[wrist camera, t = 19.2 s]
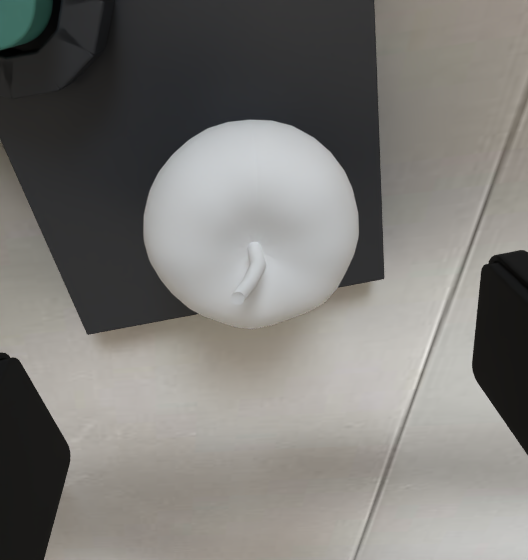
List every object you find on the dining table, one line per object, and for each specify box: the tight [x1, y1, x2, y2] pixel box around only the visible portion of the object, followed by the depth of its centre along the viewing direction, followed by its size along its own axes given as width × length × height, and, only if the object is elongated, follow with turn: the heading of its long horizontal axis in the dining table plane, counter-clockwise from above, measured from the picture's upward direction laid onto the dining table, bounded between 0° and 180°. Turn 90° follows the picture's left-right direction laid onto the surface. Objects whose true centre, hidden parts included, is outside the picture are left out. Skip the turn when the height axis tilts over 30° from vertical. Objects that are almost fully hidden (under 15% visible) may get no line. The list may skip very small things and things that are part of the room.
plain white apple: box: [143, 120, 359, 329], centre depth 16 cm, size 7×7×8 cm
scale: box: [0, 0, 384, 335], centre depth 18 cm, size 16×14×4 cm
